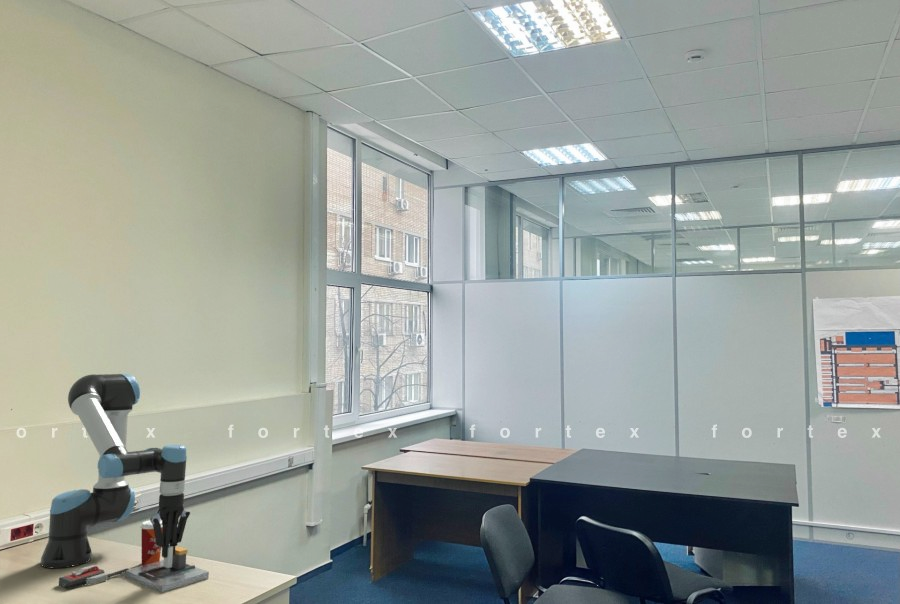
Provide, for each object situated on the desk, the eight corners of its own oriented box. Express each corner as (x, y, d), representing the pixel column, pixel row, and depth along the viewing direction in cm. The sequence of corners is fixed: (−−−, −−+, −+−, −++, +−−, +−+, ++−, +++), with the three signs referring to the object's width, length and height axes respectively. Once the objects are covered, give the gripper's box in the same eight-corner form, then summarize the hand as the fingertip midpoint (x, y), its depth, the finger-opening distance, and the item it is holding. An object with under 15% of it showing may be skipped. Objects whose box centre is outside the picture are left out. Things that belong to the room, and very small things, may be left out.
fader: (169, 566, 207) (170, 548, 207) (177, 564, 209) (178, 546, 210) (178, 570, 204) (179, 551, 204) (186, 568, 206) (187, 549, 207)
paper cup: (152, 568, 212) (155, 525, 213) (133, 565, 213) (135, 524, 214) (167, 560, 219) (170, 520, 221) (148, 558, 221) (150, 518, 222)
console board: (125, 576, 203) (125, 568, 203) (171, 563, 216) (171, 556, 216) (161, 592, 190) (162, 583, 191) (208, 578, 203) (208, 569, 204)
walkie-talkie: (69, 593, 189) (130, 574, 206) (70, 578, 189) (131, 560, 207) (53, 588, 193) (114, 569, 211) (54, 573, 194) (115, 555, 211)
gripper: (159, 498, 198) (154, 574, 196) (196, 491, 209) (192, 563, 207) (146, 494, 202) (142, 569, 200) (183, 488, 213) (179, 559, 211)
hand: (167, 566), depth 204 cm, fingers closed
